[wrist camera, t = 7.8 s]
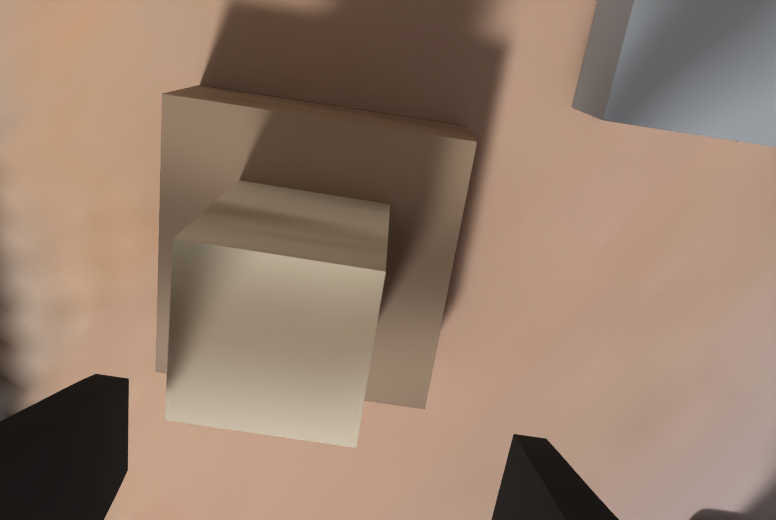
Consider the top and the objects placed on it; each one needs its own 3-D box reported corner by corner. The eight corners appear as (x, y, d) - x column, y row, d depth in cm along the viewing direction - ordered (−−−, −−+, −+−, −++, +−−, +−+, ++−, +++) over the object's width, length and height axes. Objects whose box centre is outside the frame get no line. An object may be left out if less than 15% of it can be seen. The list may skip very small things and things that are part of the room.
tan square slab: (421, 359, 21) (424, 409, 18) (188, 326, 21) (155, 371, 18) (465, 126, 19) (476, 141, 16) (198, 85, 18) (162, 93, 15)
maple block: (367, 338, 18) (355, 448, 13) (228, 317, 18) (164, 419, 13) (390, 204, 16) (385, 271, 12) (239, 180, 16) (172, 238, 11)
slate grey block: (768, 138, 18) (834, 156, 16) (571, 107, 18) (602, 120, 15) (848, -87, 16) (940, -112, 14) (627, -123, 16) (675, -157, 13)
